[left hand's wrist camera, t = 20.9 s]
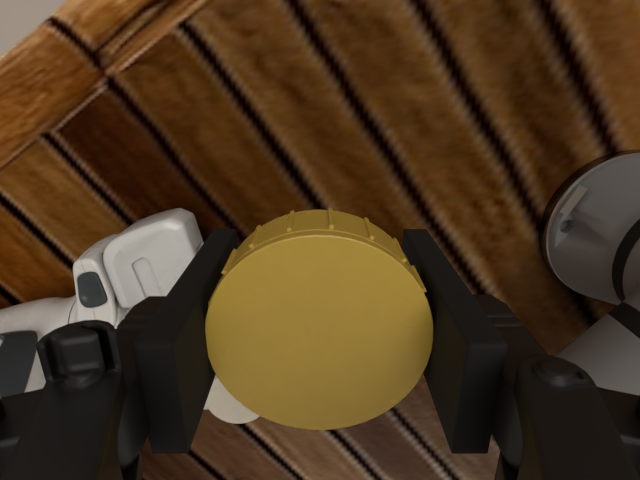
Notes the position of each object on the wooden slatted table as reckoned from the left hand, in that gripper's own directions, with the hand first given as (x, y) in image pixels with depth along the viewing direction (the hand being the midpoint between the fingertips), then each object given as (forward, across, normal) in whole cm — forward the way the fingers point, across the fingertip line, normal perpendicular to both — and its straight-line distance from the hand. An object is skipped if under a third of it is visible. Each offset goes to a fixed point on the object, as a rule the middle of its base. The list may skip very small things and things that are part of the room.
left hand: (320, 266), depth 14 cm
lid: (-4, 0, 0) cm, 4 cm away
